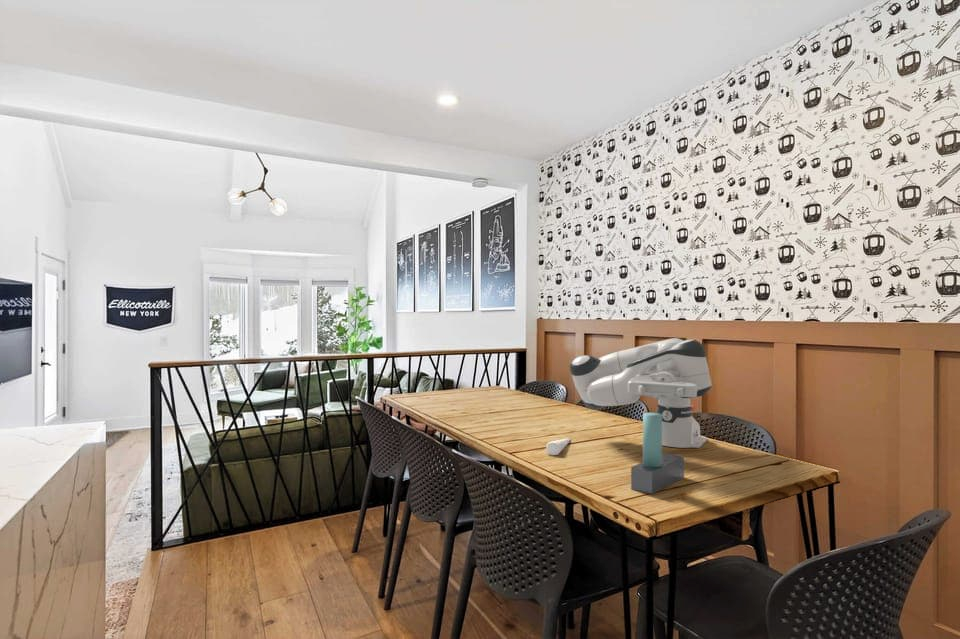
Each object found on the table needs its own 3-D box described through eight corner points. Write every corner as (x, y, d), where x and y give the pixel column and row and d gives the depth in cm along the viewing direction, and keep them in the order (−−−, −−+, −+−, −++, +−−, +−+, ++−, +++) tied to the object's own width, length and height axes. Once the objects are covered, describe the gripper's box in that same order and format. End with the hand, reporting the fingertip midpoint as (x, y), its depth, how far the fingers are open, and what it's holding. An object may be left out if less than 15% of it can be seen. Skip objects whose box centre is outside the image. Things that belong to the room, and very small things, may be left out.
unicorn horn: (579, 441, 186) (579, 428, 186) (558, 457, 165) (558, 443, 165) (567, 440, 188) (567, 427, 188) (545, 455, 168) (545, 441, 167)
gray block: (664, 472, 148) (664, 452, 148) (684, 477, 143) (684, 456, 143) (631, 488, 134) (631, 467, 134) (652, 494, 129) (652, 471, 129)
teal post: (643, 461, 139) (643, 412, 139) (662, 463, 137) (662, 413, 137) (641, 466, 134) (642, 415, 134) (661, 468, 132) (661, 416, 132)
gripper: (699, 398, 153) (697, 405, 141) (631, 393, 162) (624, 399, 150) (699, 378, 153) (697, 383, 141) (632, 374, 162) (624, 378, 150)
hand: (659, 391), depth 146 cm, fingers open, 8 cm apart
